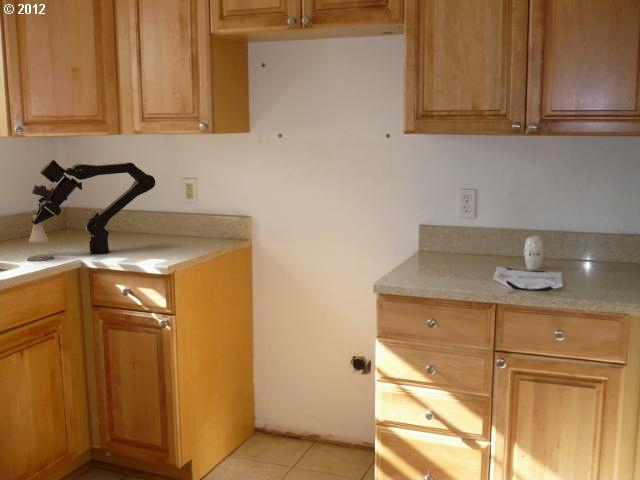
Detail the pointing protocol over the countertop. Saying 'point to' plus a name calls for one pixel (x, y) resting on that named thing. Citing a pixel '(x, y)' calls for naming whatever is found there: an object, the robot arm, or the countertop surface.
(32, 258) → the slate coaster
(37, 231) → the flask
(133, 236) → the countertop surface
